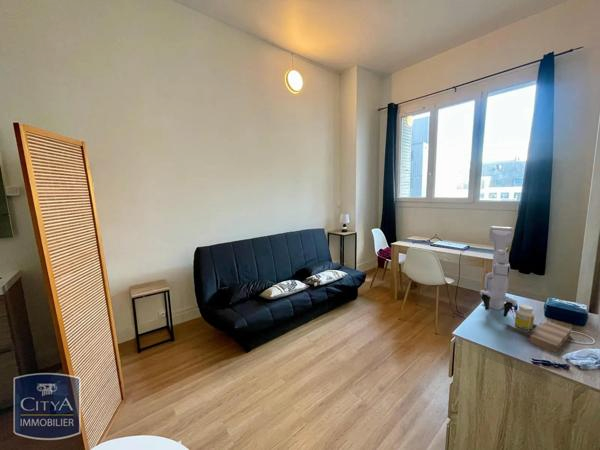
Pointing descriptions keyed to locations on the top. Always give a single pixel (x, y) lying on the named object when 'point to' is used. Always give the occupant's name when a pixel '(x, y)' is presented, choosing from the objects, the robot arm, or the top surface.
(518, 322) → the pill bottle
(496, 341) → the top surface
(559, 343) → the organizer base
